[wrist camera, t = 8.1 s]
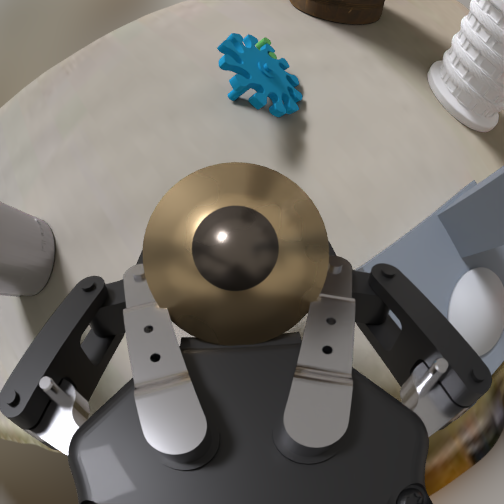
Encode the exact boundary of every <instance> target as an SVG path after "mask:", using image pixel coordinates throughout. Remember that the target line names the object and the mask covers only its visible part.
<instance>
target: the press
mask: <svg viewBox="0 0 504 504" xmlns="http://www.w3.org/2000/svg"><path fill="white" fill-rule="evenodd" d="M379 263H385V264H390V265H392V266H394V267H396V268H397V269H399V270H400V271H401V272H402V273H403V274H404V275H405V276H406V277H407V278H408V279H409V280H410V281H411V282H412V283H413V284H414V285H415V286H416V287H417V288H418V289H419V290H420V291H421V292H422V293H423V294H424V295H425V296H426V297H427V298H428V299H429V300H430V301H431V303H432V304H433V305H434V306H435V307H436V308H437V309H438V310H439V311H440V312H441V313H442V314H443V315H444V316H445V318H446V319H447V320H448V321H449V322H450V323H451V324H452V325H453V326H454V328H455V329H456V330H457V331H458V332H459V333H460V334H461V335H462V337H463V338H464V339H465V340H466V341H467V342H468V344H469V345H470V346H471V347H472V348H473V350H474V351H475V352H476V353H477V354H478V356H479V357H480V358H481V359H482V361H483V362H484V363H485V364H486V366H487V367H488V368H489V370H490V373H491V375H492V374H493V373H494V372H495V370H496V369H497V368H498V367H499V366H500V365H501V363H502V362H503V361H504V166H503V167H501V168H500V169H498V170H497V171H496V172H494V173H493V174H491V175H490V176H489V177H487V178H486V179H484V180H483V181H481V182H480V183H478V184H477V183H476V182H475V180H474V181H472V182H471V183H469V184H468V185H467V186H465V187H464V188H463V189H462V190H460V191H459V192H458V193H457V194H456V195H454V196H453V197H452V198H451V199H450V200H448V201H447V202H446V203H445V204H443V205H442V206H441V207H440V208H439V209H437V210H436V211H435V212H434V213H432V214H431V215H430V216H428V217H427V218H426V219H425V220H423V221H422V222H421V223H419V224H418V225H417V226H416V227H414V228H413V229H412V230H410V231H409V232H408V233H406V234H405V235H404V236H402V237H401V238H400V239H398V240H397V241H396V242H394V243H393V244H392V245H390V246H389V247H387V248H386V249H385V250H383V251H382V252H380V253H379V254H378V255H376V256H375V257H373V258H372V259H371V260H369V261H368V262H366V263H365V264H363V265H362V266H361V267H359V268H358V269H356V271H360V272H367V273H370V272H371V269H372V267H373V266H374V265H376V264H379ZM388 314H389V315H390V317H391V318H392V319H393V320H394V322H395V323H396V324H397V325H398V326H399V328H400V329H402V327H401V323H400V321H399V319H398V318H397V317H396V316H395V315H394V313H393V312H392V311H391V310H390V311H389V313H388Z"/></svg>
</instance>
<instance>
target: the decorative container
mask: <svg viewBox="0 0 504 504" xmlns="http://www.w3.org/2000/svg"><path fill="white" fill-rule="evenodd" d="M427 75H428V82H429V85H430V88H431V90H432V91H433V93H434V95H435V96H436V98H437V99H438V100H439V102H440V103H441V104H442V105H443V107H444V108H445V109H446V110H447V111H448V112H449V113H450V114H451V115H452V116H454V117H455V118H456V119H457V120H459V121H460V122H461V123H462V124H464V125H466V126H467V127H469V128H471V129H473V130H476V131H478V132H488V131H490V130H492V129H493V128H494V127H495V126H496V124H497V123H498V118H499V115H498V112H500V111H502V110H503V108H504V0H472V1H471V3H470V12H469V14H468V15H467V16H465V17H464V18H463V19H462V20H461V30H460V31H459V32H458V33H456V34H455V35H454V36H453V38H452V46H451V48H449V49H447V51H445V53H444V56H443V60H442V61H436V62H434V63H433V64H432V65H431V67H430V69H429V71H428V74H427Z"/></svg>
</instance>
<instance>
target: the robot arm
mask: <svg viewBox="0 0 504 504" xmlns="http://www.w3.org/2000/svg"><path fill="white" fill-rule="evenodd" d="M328 243H329V264H328V271H327V275H326V280H325V283H324V285H323V288H322V290H321V293H320V295H319V296H318V298H317V300H316V302H310V307H309V312H308V317H307V321H306V326H305V331H304V335H303V340H302V341H301V337H300V333H299V332H296V333H284V334H281V335H279V336H277V337H275V338H272V339H270V340H268V341H265V342H261V343H257V344H253V345H232V346H226V345H219V344H214V343H210V342H207V341H204V340H201V339H199V338H197V337H181V344H180V346H179V345H178V341H177V338H176V335H175V332H174V329H173V326H172V322H171V319H170V316H169V312H168V309H167V308H160V307H159V305H158V304H157V302H156V301H155V299H154V297H153V295H152V293H151V291H150V289H149V287H148V283H147V280H146V277H145V272H144V267H143V250H142V252H141V255H140V257H139V259H138V262H137V264H136V265H135V266H132V267H131V268H129V269H128V270H127V271H126V272H125V274H124V276H123V280H120V281H117V282H113V283H109V284H105V282H104V280H103V279H102V278H101V277H99V276H90V277H87V278H85V279H83V280H81V281H80V282H79V283H78V284H77V285H76V286H75V287H74V288H73V290H72V291H71V292H70V293H69V294H68V296H67V297H66V298H65V299H64V301H63V302H62V303H61V304H60V306H59V307H58V308H57V310H56V311H55V312H54V313H53V315H52V316H51V317H50V319H49V320H48V321H47V323H46V324H45V325H44V327H43V328H42V329H41V331H40V332H39V334H38V335H37V336H36V338H35V339H34V341H33V342H32V343H31V345H30V346H29V348H28V349H27V351H26V352H25V354H24V355H23V357H22V358H21V360H20V361H19V363H18V364H17V366H16V367H15V369H14V370H13V372H12V374H11V375H10V377H9V379H8V380H7V382H6V383H5V385H4V387H3V389H2V390H1V392H0V410H1V412H2V413H3V414H4V415H5V416H6V417H7V418H8V419H10V420H11V421H12V422H14V423H15V424H16V425H18V426H19V427H20V428H22V429H23V430H24V431H26V432H27V433H28V434H30V435H31V436H33V437H34V438H36V439H37V440H39V441H40V442H42V443H43V444H45V445H46V446H48V447H49V448H51V449H54V450H60V451H62V452H63V453H65V454H67V455H68V461H69V466H70V469H71V472H72V475H73V478H74V481H75V485H76V489H77V493H78V500H79V504H433V503H432V501H431V500H430V498H429V496H428V494H427V492H426V489H425V476H424V475H425V464H426V458H427V453H428V448H429V438H428V437H429V436H431V435H432V434H433V433H435V432H436V431H437V430H441V429H444V428H445V427H446V426H448V425H449V424H450V423H452V422H453V421H455V420H456V419H458V418H459V417H460V416H462V415H463V414H464V413H465V412H466V411H467V410H469V409H470V408H471V407H472V406H473V405H474V404H475V403H476V401H477V400H478V399H479V398H480V397H481V396H483V395H484V394H485V393H486V392H487V391H488V390H489V388H490V386H491V383H492V376H491V373H490V370H489V368H488V367H487V366H486V364H485V363H484V362H483V361H482V359H481V358H480V357H479V356H478V354H477V353H476V352H475V351H474V350H473V348H472V347H471V346H470V345H469V344H468V342H467V341H466V340H465V339H464V338H463V337H462V335H461V334H460V333H459V332H458V331H457V330H456V329H455V328H454V326H453V325H452V324H451V323H450V322H449V321H448V320H447V319H446V318H445V316H444V315H443V314H442V313H441V312H440V311H439V310H438V309H437V308H436V307H435V306H434V305H433V304H432V303H431V301H430V300H429V299H428V298H427V297H426V296H425V295H424V294H423V293H422V292H421V291H420V290H419V289H418V288H417V287H416V286H415V285H414V284H413V283H412V282H411V281H410V280H409V279H408V278H407V277H406V276H405V275H404V274H403V273H402V272H401V271H400V270H399V269H397V268H396V267H394V266H392V265H390V264H385V263H379V264H376V265H374V266H373V267H372V269H371V272H370V273H367V272H360V271H355V270H352V266H351V264H350V263H349V262H348V261H347V260H346V259H344V258H342V257H339V256H336V254H335V252H334V250H333V248H332V246H331V244H330V242H328ZM54 253H55V248H54V238H53V234H52V231H51V228H50V227H49V225H48V224H47V223H46V222H45V221H44V220H41V219H39V218H37V217H34V216H32V215H29V214H27V213H25V212H22V211H20V210H18V209H16V208H13V207H11V206H9V205H6V204H4V203H2V202H0V295H6V296H16V297H19V296H20V295H27V296H31V295H35V294H37V293H39V292H40V291H41V290H42V289H43V287H44V286H45V285H46V283H47V281H48V279H49V277H50V274H51V271H52V267H53V262H54ZM390 310H391V311H392V312H393V313H394V315H395V316H396V317H397V318H398V319H399V321H400V323H401V327H402V329H400V328H399V326H398V325H397V324H396V323H395V322H394V320H393V319H392V318H391V317H390V315H389V314H388V313H389V311H390ZM355 322H356V324H357V325H358V327H359V328H360V330H361V331H362V332H363V334H364V335H365V336H366V338H367V339H368V341H369V342H370V343H371V345H372V346H373V348H374V349H375V350H376V352H377V353H378V355H379V356H380V357H381V359H382V360H383V362H384V363H385V364H386V366H387V367H388V369H389V370H390V372H391V373H392V374H393V376H394V377H395V379H396V380H397V382H398V383H399V385H400V386H401V390H400V396H401V399H402V402H400V401H398V400H397V399H395V398H394V397H393V396H391V395H390V394H388V393H387V392H386V391H384V390H383V389H381V388H380V387H379V386H377V385H376V384H375V383H373V382H372V381H370V380H369V379H368V378H366V377H365V376H364V375H362V374H361V373H359V372H358V371H357V370H355V369H354V368H353V367H352V361H353V346H354V328H355ZM88 325H90V327H91V328H92V329H91V330H90V332H89V333H88V335H87V336H86V338H85V339H84V341H83V342H82V344H81V345H80V339H81V336H82V334H83V332H84V331H85V329H86V328H87V326H88ZM125 332H126V338H127V345H128V351H129V357H130V363H131V369H132V374H133V378H132V379H131V380H130V381H129V382H128V383H126V384H125V385H124V386H123V387H122V388H121V389H120V390H119V391H118V392H117V393H116V394H115V395H114V396H113V397H111V398H110V399H109V400H108V401H107V402H106V403H105V404H104V405H103V406H102V407H101V408H100V409H99V410H97V411H96V412H95V413H94V414H93V415H92V416H91V417H89V412H90V408H89V404H88V401H89V399H90V397H91V395H92V393H93V391H94V389H95V387H96V386H97V384H98V382H99V380H100V378H101V376H102V374H103V372H104V371H105V369H106V367H107V365H108V363H109V361H110V360H111V358H112V356H113V354H114V352H115V351H116V349H117V347H118V345H119V343H120V342H121V340H122V338H123V336H124V334H125Z"/></svg>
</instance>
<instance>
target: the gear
mask: <svg viewBox="0 0 504 504" xmlns="http://www.w3.org/2000/svg"><path fill="white" fill-rule="evenodd" d="M242 41H243V42H244V44H245V46H246V47H245V46H244V45H243V43H242ZM256 43H257V44H256ZM255 44H256V47H257V48H258V49H259V50H258V49H257V48H256V47H255ZM270 44H271V42H270V40H269V39H267V38H263V39H262V40H261V41H259V42H258V40H257V38H255V37H254V36H252V35H249V34H248V35H247V36H246V37H245V38H244V39H243V38H242V36H241V35H240V34H235V33H232V34H231V35H230V36H229V37H228V38H227V40H225V41H224V42H223V43H222V44H221V45H220V46H219V47H218V48H217V49H218V50H219V51H220V52H221V53H224V54H225V55H224V56H223V57H222V58H221V59H220V60H219V67H220V68H221V69H223V70H229V71H233V72H235V73H237V74H236V75H235V76H234V77H232V78H231V79H230V80H229V82H230V84H231V86H232V88H233V90H232V91H231V92H230V93H229V94H228V98H229V99H230V100H232V101H235V100H236V99H237V98H238V97H240V96H241V95H242V94H243V93H245V92H246V91H247V90H249V89H250V88H252V89H254V90H256V91H257V93H255V94H254V95H253V96H251V97H250V98H249V102H250V103H251V104H252V105H253V106H254V107H255V108H256V109H257V110H258V109H260V108H262V107H263V106H264V105H266V104H267V97H269V98H270V99H271V100H272V102H273V105H272V106H270V107H269V111H270V113H271V114H272V115H274V116H276V117H281V116H283V115H284V114H286V113H287V114H292V113H294V112H296V111H297V110H299V107H298V105H297V104H296V103H297V102H299V101H300V100H302V97H303V96H302V94H301V93H300V92H299V91H298V90H296V89H295V88H294V87H296V86H297V85H299V81H298V78H297V77H296V76H295V75H291V74H289V73H287V72H286V71H284V70H286V69H287V68H289V64H288V63H287V61H286V60H285V59H284V58H281V59H280V60H277V57H276V55H275V54H274V52H275V50H274V49H273V48H272V47H271V46H270ZM282 101H283V102H282ZM283 103H284V105H283Z"/></svg>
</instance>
